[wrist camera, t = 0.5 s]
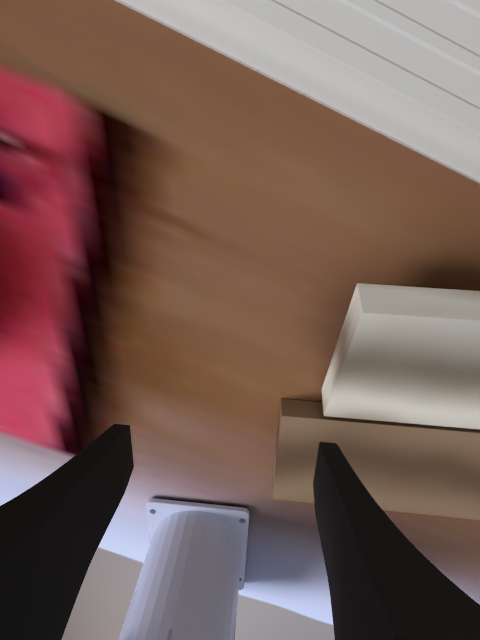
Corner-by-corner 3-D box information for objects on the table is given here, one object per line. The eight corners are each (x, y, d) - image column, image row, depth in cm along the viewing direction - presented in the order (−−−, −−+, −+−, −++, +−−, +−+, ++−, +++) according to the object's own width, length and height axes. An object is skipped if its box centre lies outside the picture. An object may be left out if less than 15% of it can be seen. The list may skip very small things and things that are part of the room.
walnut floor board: (498, 500, 25) (514, 523, 23) (272, 478, 26) (272, 499, 24) (534, 420, 22) (555, 439, 20) (280, 398, 23) (281, 415, 21)
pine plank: (500, 404, 22) (513, 432, 20) (321, 389, 22) (323, 416, 21) (615, 300, 15) (645, 332, 14) (356, 283, 16) (363, 312, 14)
